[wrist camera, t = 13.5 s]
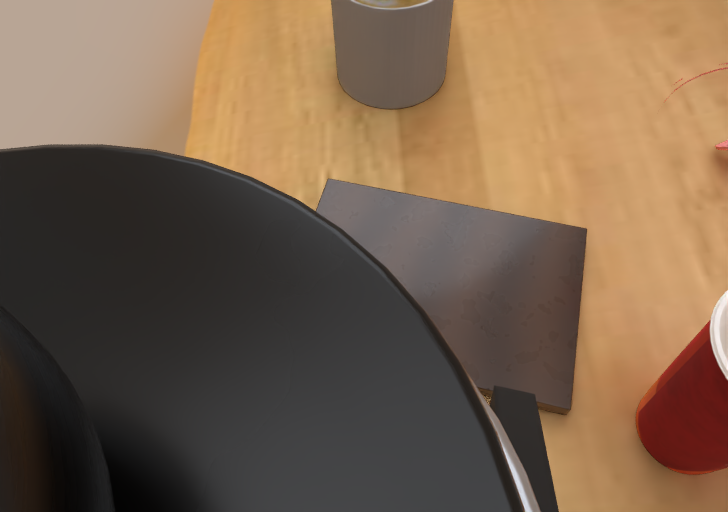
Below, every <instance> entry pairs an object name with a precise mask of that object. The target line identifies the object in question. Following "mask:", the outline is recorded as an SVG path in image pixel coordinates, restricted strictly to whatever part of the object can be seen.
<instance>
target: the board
mask: <svg viewBox="0 0 728 512" xmlns="http://www.w3.org/2000/svg"><path fill="white" fill-rule="evenodd" d="M316 212H317V213H319V214H320V215H322V216H323V217H325V218H326V219H328V220H329V221H331V222H332V223H334V224H335V225H337V226H338V227H340V228H341V229H343V230H344V231H345V232H346V233H347V234H349V235H350V236H351V237H352V238H353V239H354V240H355V241H357V242H358V243H359V244H360V245H361V246H362V247H364V248H365V249H366V250H367V251H368V252H369V253H370V254H372V255H373V256H374V257H375V258H376V259H377V260H379V261H380V262H381V263H382V264H383V265H384V266H385V267H387V268H388V269H389V270H390V271H391V273H392V274H393V275H394V276H395V277H396V278H397V279H398V280H399V282H400V283H401V284H402V285H403V286H404V287H405V288H406V290H407V291H408V292H409V293H410V294H411V295H412V296H413V297H414V299H415V300H416V301H417V302H418V303H419V304H420V305H421V306H422V308H423V309H424V310H425V311H426V312H427V313H428V314H429V316H430V317H431V319H432V320H433V322H434V323H435V325H436V326H437V328H438V329H439V331H440V332H441V334H442V335H443V337H444V338H445V340H446V341H447V343H448V344H449V346H450V347H451V348H452V350H453V351H454V353H455V354H456V356H457V357H458V359H459V360H460V362H461V363H462V365H463V366H464V368H465V370H466V372H467V374H468V375H469V376H470V378H471V379H472V381H473V382H474V384H475V385H476V387H477V388H478V390H479V391H480V393H481V394H482V395H485V396H489V397H492V393H493V388H494V385H495V386H500V387H505V388H509V389H514V390H519V391H523V392H528V393H532V394H535V397H536V402H537V407H538V409H542V410H546V411H551V412H555V413H559V414H563V415H566V414H567V413H568V412H569V411H570V410H571V401H572V390H573V379H574V368H575V357H576V346H577V335H578V324H579V313H580V302H581V291H582V280H583V269H584V258H585V247H586V236H587V229H586V228H581V227H576V226H571V225H565V224H560V223H555V222H550V221H545V220H540V219H534V218H529V217H524V216H519V215H514V214H509V213H504V212H498V211H493V210H488V209H483V208H478V207H473V206H468V205H462V204H457V203H452V202H447V201H442V200H437V199H432V198H426V197H421V196H416V195H411V194H406V193H401V192H395V191H390V190H385V189H380V188H375V187H370V186H365V185H359V184H354V183H349V182H344V181H339V180H334V179H328V180H327V183H326V185H325V188H324V191H323V193H322V196H321V199H320V201H319V204H318V207H317V209H316Z"/></svg>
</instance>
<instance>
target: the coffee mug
mask: <svg viewBox="0 0 728 512" xmlns="http://www.w3.org/2000/svg"><path fill="white" fill-rule="evenodd" d="M331 5H332V16H333V28H334V40H335V51H336V63H337V74H338V79H339V82H340V84H341V86H342V87H343V89H344V90H345V91H346V92H347V93H348V94H349V95H350V96H351V97H352V98H354V99H355V100H357V101H359V102H361V103H363V104H366V105H368V106H373V107H377V108H383V109H398V108H405V107H410V106H413V105H416V104H419V103H421V102H423V101H425V100H427V99H428V98H430V97H431V96H432V95H434V94H435V93H436V92H437V91H438V90H439V88H440V87H441V85H442V83H443V81H444V78H445V72H446V63H447V54H448V45H449V36H450V27H451V18H452V9H453V0H331Z"/></svg>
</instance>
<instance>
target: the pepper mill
mask: <svg viewBox="0 0 728 512" xmlns="http://www.w3.org/2000/svg"><path fill="white" fill-rule="evenodd" d="M0 512H541V511H540V508H539V506H538V503H537V500H536V498H535V495H534V492H533V490H532V487H531V484H530V482H529V479H528V476H527V474H526V471H525V470H524V468H523V466H522V464H521V462H520V460H519V458H518V456H517V454H516V452H515V450H514V448H513V446H512V444H511V442H510V440H509V438H508V436H507V434H506V432H505V431H504V429H503V427H502V425H501V423H500V421H499V419H498V418H497V416H496V415H495V413H494V412H493V410H492V409H491V407H490V406H489V404H488V403H487V401H486V400H485V398H484V397H483V396H482V394H481V393H480V391H479V390H478V388H477V387H476V385H475V384H474V382H473V381H472V379H471V378H470V376H469V375H468V374H467V372H466V370H465V368H464V366H463V365H462V363H461V362H460V360H459V359H458V357H457V356H456V354H455V353H454V351H453V350H452V348H451V347H450V346H449V344H448V343H447V341H446V340H445V338H444V337H443V335H442V334H441V332H440V331H439V329H438V328H437V326H436V325H435V323H434V322H433V320H432V319H431V317H430V316H429V314H428V313H427V312H426V311H425V310H424V309H423V308H422V306H421V305H420V304H419V303H418V302H417V301H416V300H415V299H414V297H413V296H412V295H411V294H410V293H409V292H408V291H407V290H406V288H405V287H404V286H403V285H402V284H401V283H400V282H399V280H398V279H397V278H396V277H395V276H394V275H393V274H392V273H391V271H390V270H389V269H388V268H387V267H385V266H384V265H383V264H382V263H381V262H380V261H379V260H377V259H376V258H375V257H374V256H373V255H372V254H370V253H369V252H368V251H367V250H366V249H365V248H364V247H362V246H361V245H360V244H359V243H358V242H357V241H355V240H354V239H353V238H352V237H351V236H350V235H349V234H347V233H346V232H345V231H344V230H343V229H341V228H340V227H338V226H337V225H335V224H334V223H332V222H331V221H329V220H328V219H326V218H325V217H323V216H322V215H320V214H319V213H317V212H316V211H314V210H313V209H311V208H310V207H308V206H307V205H305V204H304V203H302V202H300V201H299V200H297V199H295V198H293V197H291V196H289V195H287V194H285V193H283V192H281V191H279V190H277V189H275V188H273V187H271V186H269V185H267V184H265V183H263V182H260V181H258V180H256V179H254V178H252V177H250V176H247V175H244V174H241V173H238V172H235V171H232V170H229V169H226V168H224V167H221V166H218V165H215V164H212V163H209V162H206V161H203V160H199V159H194V158H189V157H185V156H180V155H175V154H171V153H166V152H161V151H157V150H150V149H141V148H131V147H122V146H112V145H40V146H31V147H20V148H11V149H0Z"/></svg>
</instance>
